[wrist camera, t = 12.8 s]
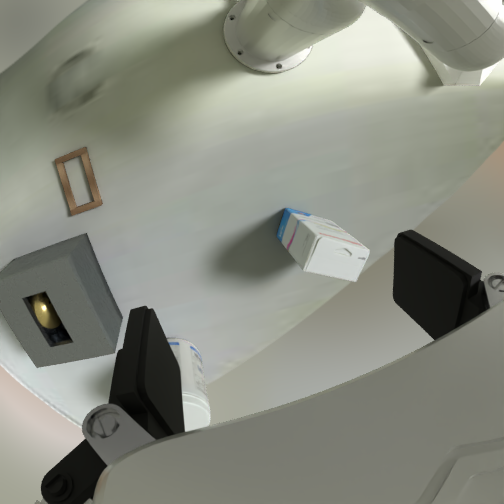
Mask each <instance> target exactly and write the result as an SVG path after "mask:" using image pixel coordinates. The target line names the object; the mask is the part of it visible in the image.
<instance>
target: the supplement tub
mask: <svg viewBox="0 0 504 504" xmlns="http://www.w3.org/2000/svg"><path fill="white" fill-rule="evenodd" d="M167 340H168V342H169V345H170V347H171V349H172V351H173V353H174V355H175V357H176V359H177V361H178V364H179V366H180V371H181V385H182V400H183V413H184V424H185V432H186V431H190V430H194V429H198V428H202V427H206V426H208V425H209V423H210V407H209V401H208V395H207V390H206V384H205V378H204V372H203V366H202V360H201V355H200V352H199V350H198V349H197V348H196V347H195V346H194V345H193V344H192V343H190V342H188V341H186V340H183V339H178V338H169V339H167Z"/></svg>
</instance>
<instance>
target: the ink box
mask: <svg viewBox="0 0 504 504" xmlns="http://www.w3.org/2000/svg"><path fill="white" fill-rule="evenodd" d="M277 238H278V239H279V240H280V242H281V243H282V244H283V245H284V247H285V248H286V249H287V250H288V252H289V253H290V254H291V256H292V257H293V258H294V259H295V261H296V262H297V263H298V265H299V266H300V267H301V269H302V270H303V271H305V272H310V273H315V274H320V275H324V276H329V277H334V278H339V279H343V280H348V281H353V282H356V281H357V279H358V277H359V275H360V273H361V270H362V268H363V266H364V264H365V262H366V260H367V258H368V256H369V252H370V250H369V249H367V248H366V247H365V246H364V245H362V244H361V243H360V242H358V241H357V240H356V239H355V238H353V237H352V236H351V235H349V234H348V233H347V232H346V231H344V230H343V229H342V228H340V227H339V226H338V225H336V224H335V223H334V222H332V221H331V220H327V219H324V218H321V217H317V216H314V215H310V214H307V213H303V212H300V211H297V210H293V209H289V208H285V211H284V214H283V216H282V220H281V223H280V226H279V229H278V232H277Z"/></svg>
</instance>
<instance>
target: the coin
mask: <svg viewBox="0 0 504 504" xmlns="http://www.w3.org/2000/svg"><path fill="white" fill-rule="evenodd" d="M28 302H29V304H30V306H31V308H32V309H33V311H34V313H35V315H36V317H37V318H38V320H39V322H40V324H41V325H42V327H45V328H50V329H52V328H56V327H58V326H59V325H60V324H61V323H62V321H61V319H60V317H59V316H58V314H57V312H56V310H55V308H54V306H53V304H52V303H51V301H50V299H49V297H48V295H47V293H46V291H44V292H41V293H38V294H34V295H31V296H29V299H28Z"/></svg>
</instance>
